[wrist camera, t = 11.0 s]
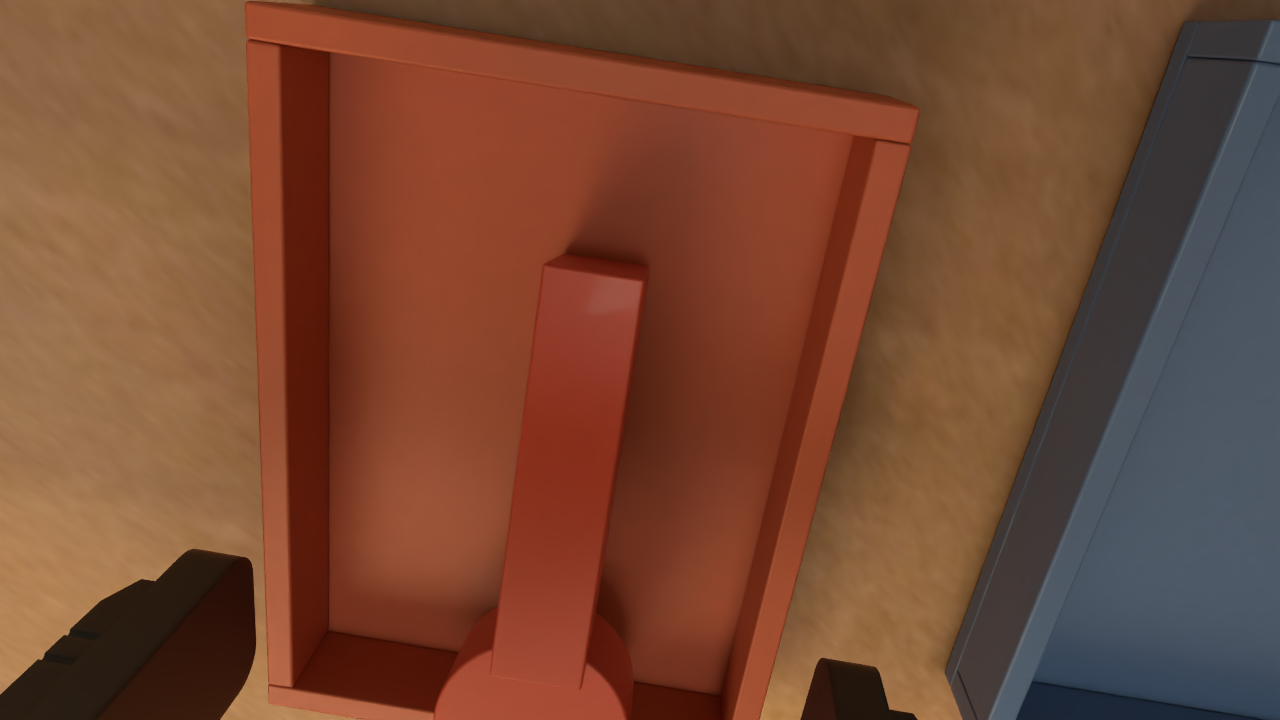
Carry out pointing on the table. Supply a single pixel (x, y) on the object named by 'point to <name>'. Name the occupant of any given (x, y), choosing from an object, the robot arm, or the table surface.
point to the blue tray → (1156, 435)
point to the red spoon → (561, 513)
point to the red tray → (503, 335)
